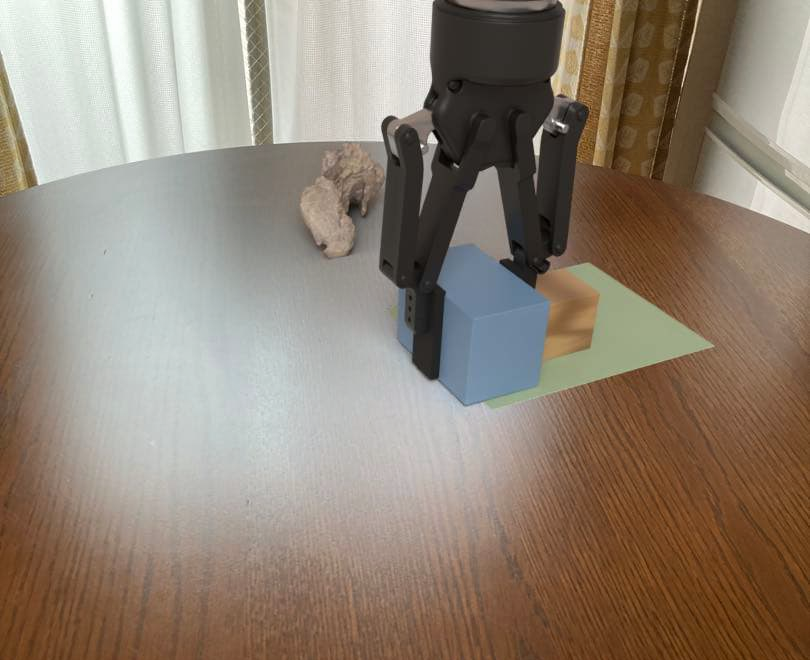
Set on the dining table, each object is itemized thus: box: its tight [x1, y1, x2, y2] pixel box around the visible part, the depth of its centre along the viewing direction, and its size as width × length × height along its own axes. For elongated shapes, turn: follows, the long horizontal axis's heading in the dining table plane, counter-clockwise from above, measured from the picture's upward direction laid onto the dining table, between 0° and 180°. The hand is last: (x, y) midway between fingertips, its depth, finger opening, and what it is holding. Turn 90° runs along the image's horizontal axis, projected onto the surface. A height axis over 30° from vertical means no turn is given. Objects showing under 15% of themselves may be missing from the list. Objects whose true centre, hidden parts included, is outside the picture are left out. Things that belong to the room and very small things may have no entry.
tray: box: [384, 261, 716, 411], centre depth 72 cm, size 20×16×1 cm
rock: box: [299, 140, 386, 260], centre depth 85 cm, size 6×14×7 cm, turn 165°
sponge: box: [396, 242, 551, 406], centre depth 65 cm, size 10×6×6 cm, turn 28°
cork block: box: [535, 267, 600, 361], centre depth 68 cm, size 4×4×4 cm
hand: (465, 358), depth 67 cm, fingers closed on sponge, 6 cm apart
